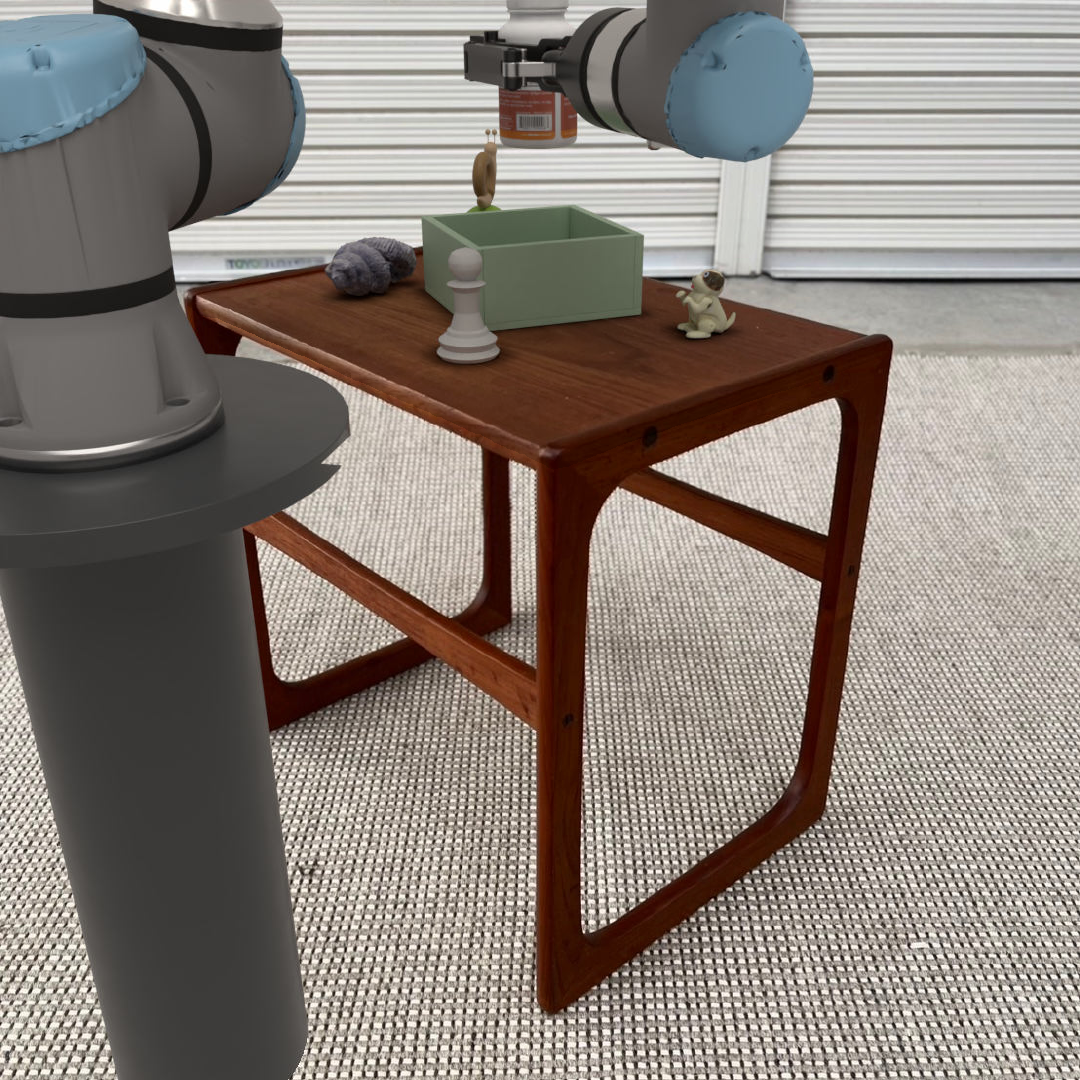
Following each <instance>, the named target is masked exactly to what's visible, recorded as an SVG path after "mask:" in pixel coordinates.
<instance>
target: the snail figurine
mask: <svg viewBox="0 0 1080 1080" xmlns="http://www.w3.org/2000/svg"><path fill="white" fill-rule="evenodd" d="M484 133H485V135H487V142H486V144H485V145H484V148H483V151H479V153H477V154H476V156H475V158H474V161H473V166H472V171H471V181H472V189H473V190H472V191H473V193H474V195H475V197H476V205H475V206H473V207H471V208H469V209H468V210H467V211H466V212H465V213H470V212H483V211H496V210H502V209H501V207H499V206H496V205H493V204H492V203H493V200H494V197H495V193H496V184H497V173H498V172H497V171H498V170H497V168H498V166H497V153H498V147H497V144H496V135H497V134H498V130H497V129H494V128H493V129H492V130H491V129H489V128H486V129H485V132H484ZM490 135H493V137H494V138H493V139H494V140H493V141H489V140H490V139H489V136H490Z"/></svg>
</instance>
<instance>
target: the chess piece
mask: <svg viewBox="0 0 1080 1080" xmlns="http://www.w3.org/2000/svg"><path fill="white" fill-rule="evenodd" d="M448 267H449V270H450V272H451V274H452V275H453V276H454V277H455V278H456V279H455V280H452V281H449V282H448V283H447V285H448V286H449V287H450V288H451V289H452V290H453V294H454V305H455V313H454V314H453V317H452V320H451V324H450V326H448V327H447V329H446V331H445V332H444V333H442V334H441V335H440V336H439V337H438V343H439V345H440V346H439V347H438V348H437V349H436V353H437V355H438V357H440V359H441V360H443V361H446V362H448V363H452V364H460V365H461V364H462V365H464V364H465V365H468V364H469V365H470V364H471V365H472V364H480V363H485V362H489V361H493V360H494V359H496V358H497V357H498V355H499V354H500V352H501V350H500V347H498V345H497V344H496V343H497V342H498V336H497V335H496V334H494V333H493V331H489V330H488V327H486V326H485V325H484V323H483V320H482V318H481V315H480V312H479V297H480V289H481V288H482V287H483V286H484V285H485V282H484V281H482V280H479V279H476V277H478V276H479V274H480V273H481V270H482V267H483V260H482V257H481V255H480V253H479V252H478V251H476V250H474V249H470V248H466V247H464V248H460V249H457V250H455V251H453V252H452V253H451V255H450V257H449V260H448Z"/></svg>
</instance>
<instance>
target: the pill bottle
mask: <svg viewBox="0 0 1080 1080" xmlns="http://www.w3.org/2000/svg"><path fill="white" fill-rule="evenodd" d="M505 1H506V3H505V4H506V8H507V10H506V12H507V13H509V19H508V21H507V22H506V23H504V24H503V25H501V27H500V29H499V30H498V38H501V39H506V43H522V44H537V45H538V44H539V41H540V40H541V39H544V38H564V37H565V36H573V34H574V32H575V31H576V30H577V29H576V28H575V27H574V25H573V24H572V23H570V22H568V21H567V20H566V17H565V14H566V13H567V12H568V10H569V9H568V8H569V7H570V3H569V0H505ZM560 48H561V47H560ZM560 48H559V49H560ZM498 127H499V128H498V129H499V140H500V143H501V144H502V145H503V146H505V147H507V148H514V149H523V150H551V149H560V148H565V147H569V146H572V145H574V144H575V143H576V142H577V139H578V113H577V112H576V111H575V109H574V108H573V106H572V105H571V103H570V101H569V99H568V98H566V97H564V95H563V94H562V93H556V92H547V91H542V90H541V89H540V87H539V85H538V83H533V82H527V87H521V89H518V90H516V91H509V90H507V89H503V87H502V86H498Z"/></svg>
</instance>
